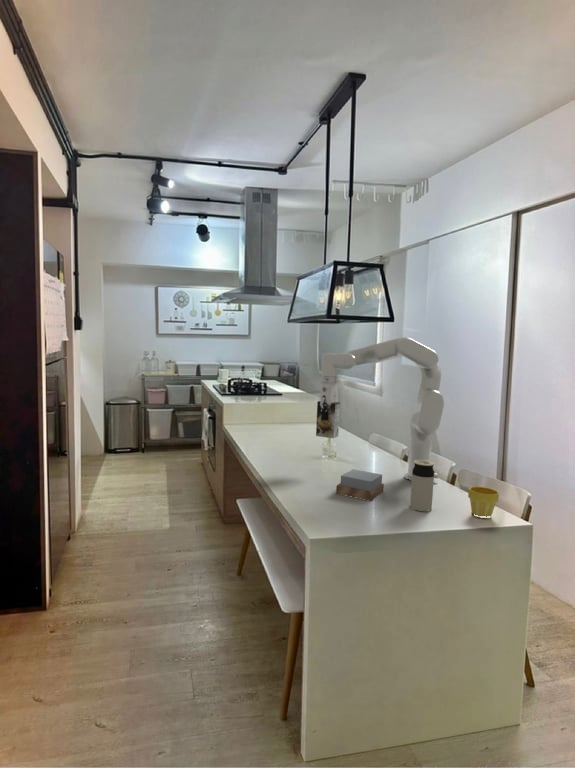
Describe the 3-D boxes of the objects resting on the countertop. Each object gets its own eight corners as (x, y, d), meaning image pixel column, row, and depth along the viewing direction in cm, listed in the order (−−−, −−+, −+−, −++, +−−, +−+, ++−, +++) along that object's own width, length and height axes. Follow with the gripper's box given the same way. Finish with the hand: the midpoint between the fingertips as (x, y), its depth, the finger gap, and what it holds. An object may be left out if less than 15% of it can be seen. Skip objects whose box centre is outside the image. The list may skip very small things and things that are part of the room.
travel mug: (416, 512, 184) (420, 465, 182) (405, 505, 192) (409, 459, 190) (435, 511, 186) (439, 464, 185) (424, 504, 194) (427, 459, 192)
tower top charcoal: (381, 483, 207) (382, 474, 207) (370, 491, 196) (371, 481, 196) (352, 478, 214) (353, 469, 213) (340, 485, 202) (340, 475, 202)
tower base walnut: (383, 493, 208) (383, 483, 208) (371, 502, 195) (371, 492, 194) (349, 486, 215) (350, 477, 215) (335, 495, 202) (336, 485, 202)
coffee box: (315, 436, 228) (316, 401, 227) (321, 434, 234) (322, 400, 232) (333, 438, 224) (335, 403, 223) (339, 436, 230) (340, 401, 228)
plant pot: (489, 511, 189) (491, 486, 188) (501, 521, 179) (504, 495, 178) (462, 510, 189) (464, 485, 188) (473, 520, 179) (475, 493, 178)
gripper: (328, 381, 217) (327, 422, 219) (344, 379, 232) (343, 417, 234) (313, 380, 221) (312, 420, 223) (329, 378, 236) (328, 415, 238)
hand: (328, 418), depth 228 cm, fingers closed on coffee box, 6 cm apart
